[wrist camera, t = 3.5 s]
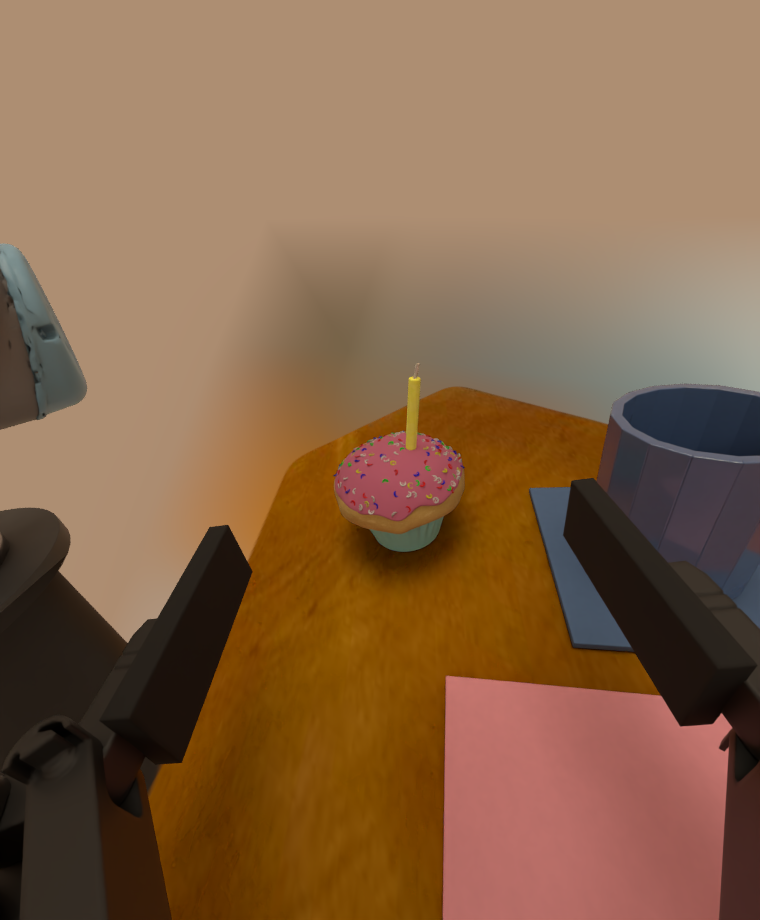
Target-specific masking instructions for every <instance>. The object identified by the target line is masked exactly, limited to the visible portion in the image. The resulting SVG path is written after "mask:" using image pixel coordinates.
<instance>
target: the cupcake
mask: <svg viewBox="0 0 760 920" xmlns="http://www.w3.org/2000/svg"><path fill="white" fill-rule="evenodd" d="M419 365H420V364H419V363H417V364H416V366H415V372H414V376H413V377H410V378H409V383H408V384H409V385H408V406H407V428H406V432H404V431H401V432H399V433H398V432H397V433H392V434H390V435H387V436H383V437H382V436H380V437H379V438H378V439H377V438H373V439H372V440H369V441H367V443H365V444H362V445H361V446H359V447H358V448H354V449H355V450H353V451H352V452H351V453H350V454H349V455H348V456H347V457H346V458H345V459H344V460H343V461H342V462H341V464H340V465H339V468H338V470H337V473H336V474H335V475H334V476H336V478H335V482H334V491H335V496H336V499H337V502H338V505H339V508H340V511H341V514H342V515H343V517H345V518H346V519H347V520H348V521H350V522H351V523H353V524H355V525H358V526H360V527H363V528H367V529H370V531H371V532H372V533H373V535H374V536H375V538H376V539H377V541H378V542H379V543H380V544H381V545H383V546H384V547H386V548H388V549H390V550H394V551H399V552H408V551H414V550H418V549H421V548H423V547H425V546H427V545H428V544H430V543H431V542H432V541H433V540H434V539H435V538H436V536H437V535H438V533H439V530H440V526H441V523H442V520H443V517H444V516H445V515H447V514H448V513H450V512H451V511H452V510H453V509H454V508H455V507H456V506H457V505H458V503H459V501H460V498H461V496H462V493H463V491H464V469H463V468H464V467H463V464H462V459H461V457H460V453H458V455H456V451H452V448H451V447H450V446H449V447H448V446H447V445H444V443H443V442H442V441H439V439H432V438H430V436H429V435H426V436H425V434H420V433H417V428H418V412H419V397H420V396H419V395H420V381H421V380H420V378H419V377H417V375H418V368H419ZM428 436H429V437H428ZM458 456H459V457H458Z"/></svg>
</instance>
